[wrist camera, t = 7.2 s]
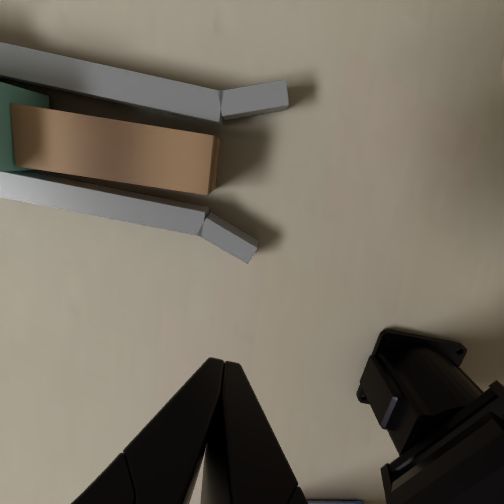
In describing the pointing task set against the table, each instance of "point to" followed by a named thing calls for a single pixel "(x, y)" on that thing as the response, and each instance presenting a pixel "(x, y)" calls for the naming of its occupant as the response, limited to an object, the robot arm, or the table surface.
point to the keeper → (3, 146)
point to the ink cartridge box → (334, 502)
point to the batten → (114, 150)
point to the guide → (143, 96)
